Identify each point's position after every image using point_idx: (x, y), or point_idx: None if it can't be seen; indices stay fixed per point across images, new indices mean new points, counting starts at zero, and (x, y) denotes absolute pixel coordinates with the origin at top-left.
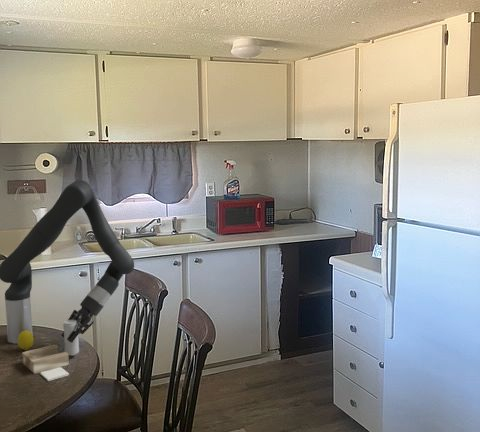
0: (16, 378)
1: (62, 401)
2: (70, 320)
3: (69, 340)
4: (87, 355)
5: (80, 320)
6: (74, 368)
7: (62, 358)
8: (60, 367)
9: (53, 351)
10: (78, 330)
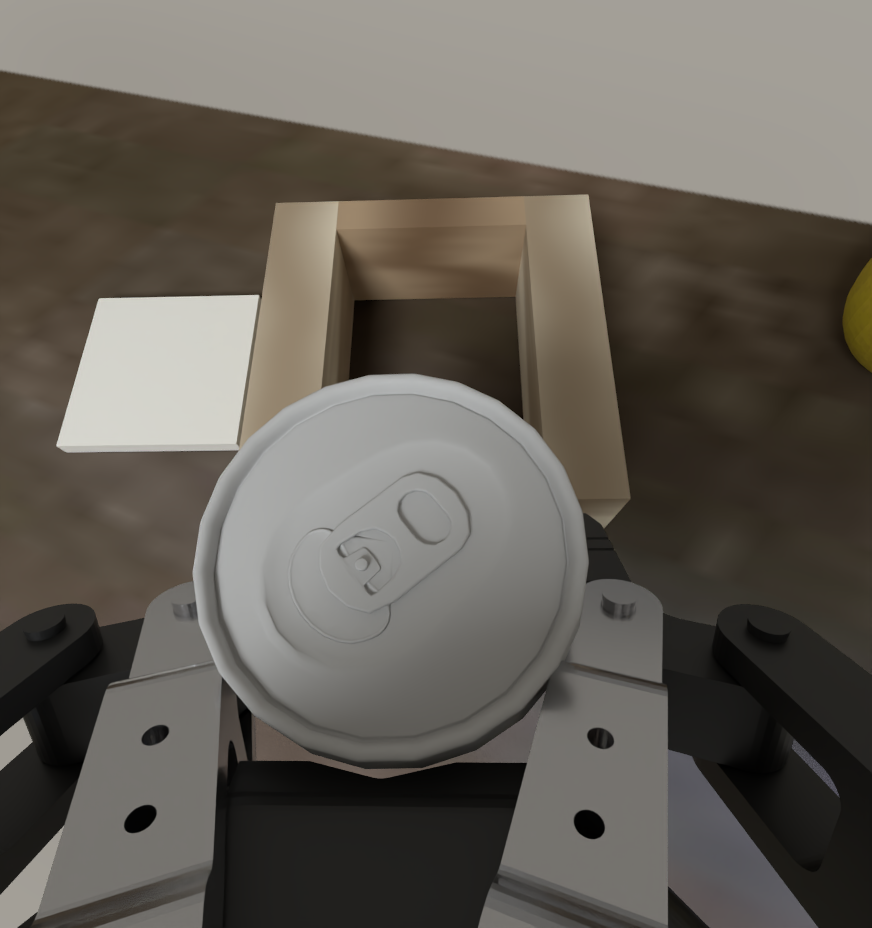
0: (323, 182)
1: None
2: (538, 608)
3: None
4: None
5: (81, 830)
6: (152, 543)
7: None
8: (228, 438)
9: None
10: (29, 620)
